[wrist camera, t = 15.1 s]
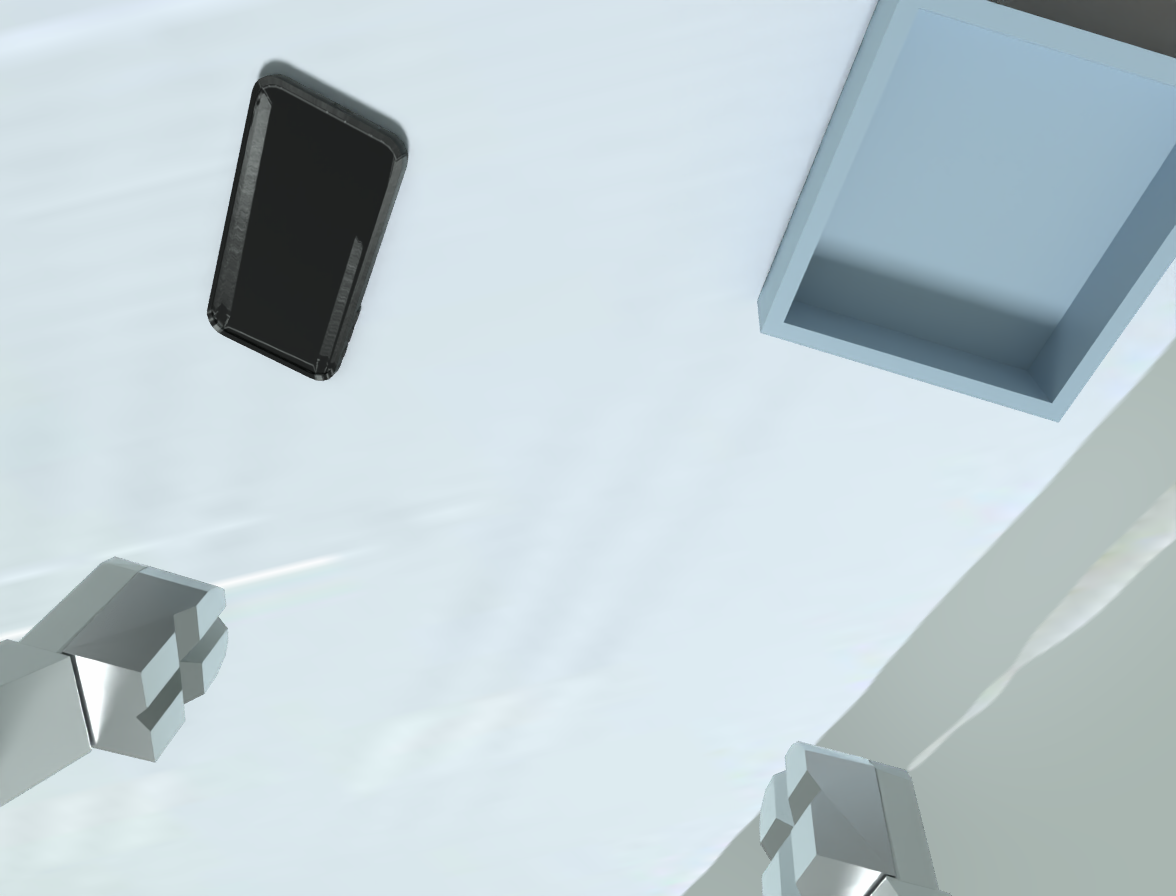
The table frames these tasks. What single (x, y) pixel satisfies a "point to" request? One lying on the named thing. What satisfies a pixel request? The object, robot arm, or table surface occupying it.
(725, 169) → the table surface
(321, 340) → the phone
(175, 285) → the table surface
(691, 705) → the table surface
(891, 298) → the bin
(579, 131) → the table surface
